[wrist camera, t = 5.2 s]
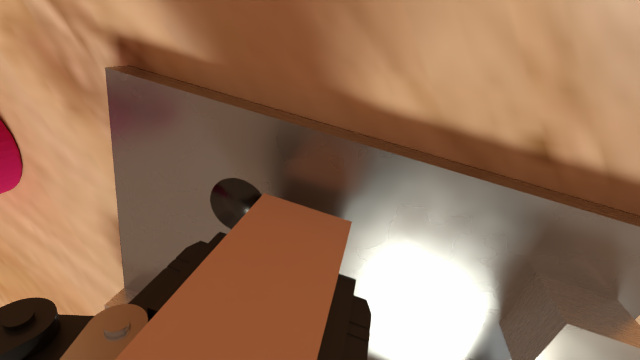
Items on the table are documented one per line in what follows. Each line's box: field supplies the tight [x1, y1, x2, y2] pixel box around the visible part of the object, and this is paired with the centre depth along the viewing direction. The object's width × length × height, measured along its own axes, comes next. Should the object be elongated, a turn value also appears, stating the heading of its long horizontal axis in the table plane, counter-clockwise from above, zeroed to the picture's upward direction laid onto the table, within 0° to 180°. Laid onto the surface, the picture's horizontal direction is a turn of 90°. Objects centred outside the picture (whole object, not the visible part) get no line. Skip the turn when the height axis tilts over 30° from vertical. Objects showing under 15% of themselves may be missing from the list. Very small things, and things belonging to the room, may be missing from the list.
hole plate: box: [105, 66, 640, 360], centre depth 14 cm, size 23×16×4 cm
